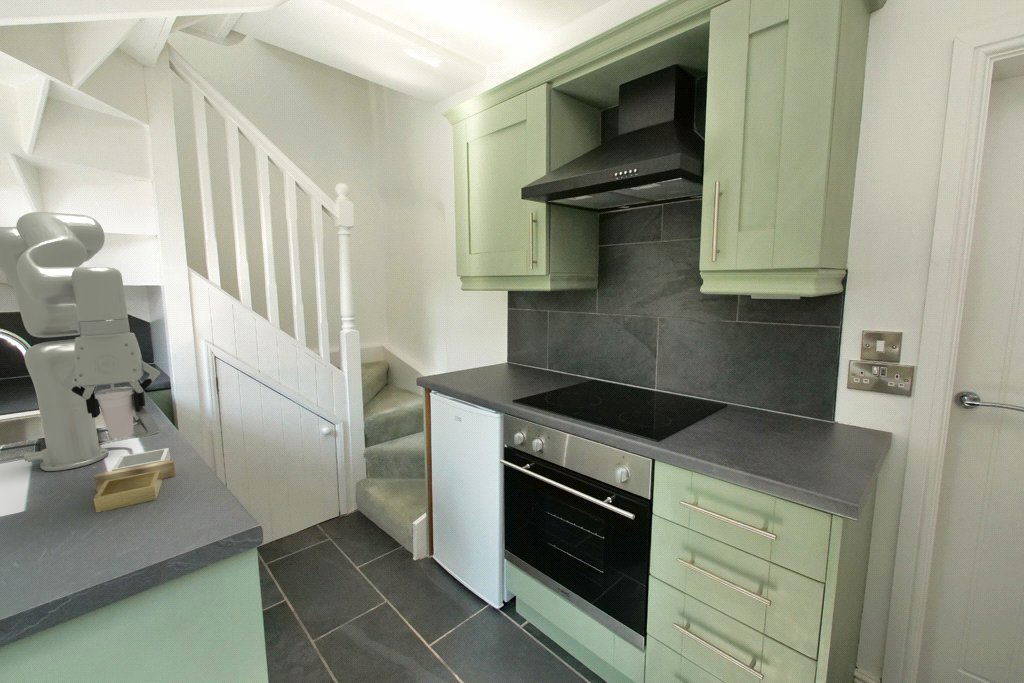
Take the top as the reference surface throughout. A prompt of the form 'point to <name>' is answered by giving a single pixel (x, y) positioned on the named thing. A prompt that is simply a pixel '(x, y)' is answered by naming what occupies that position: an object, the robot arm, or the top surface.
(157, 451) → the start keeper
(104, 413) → the smoothie
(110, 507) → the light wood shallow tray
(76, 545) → the top surface
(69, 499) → the top surface
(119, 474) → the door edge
